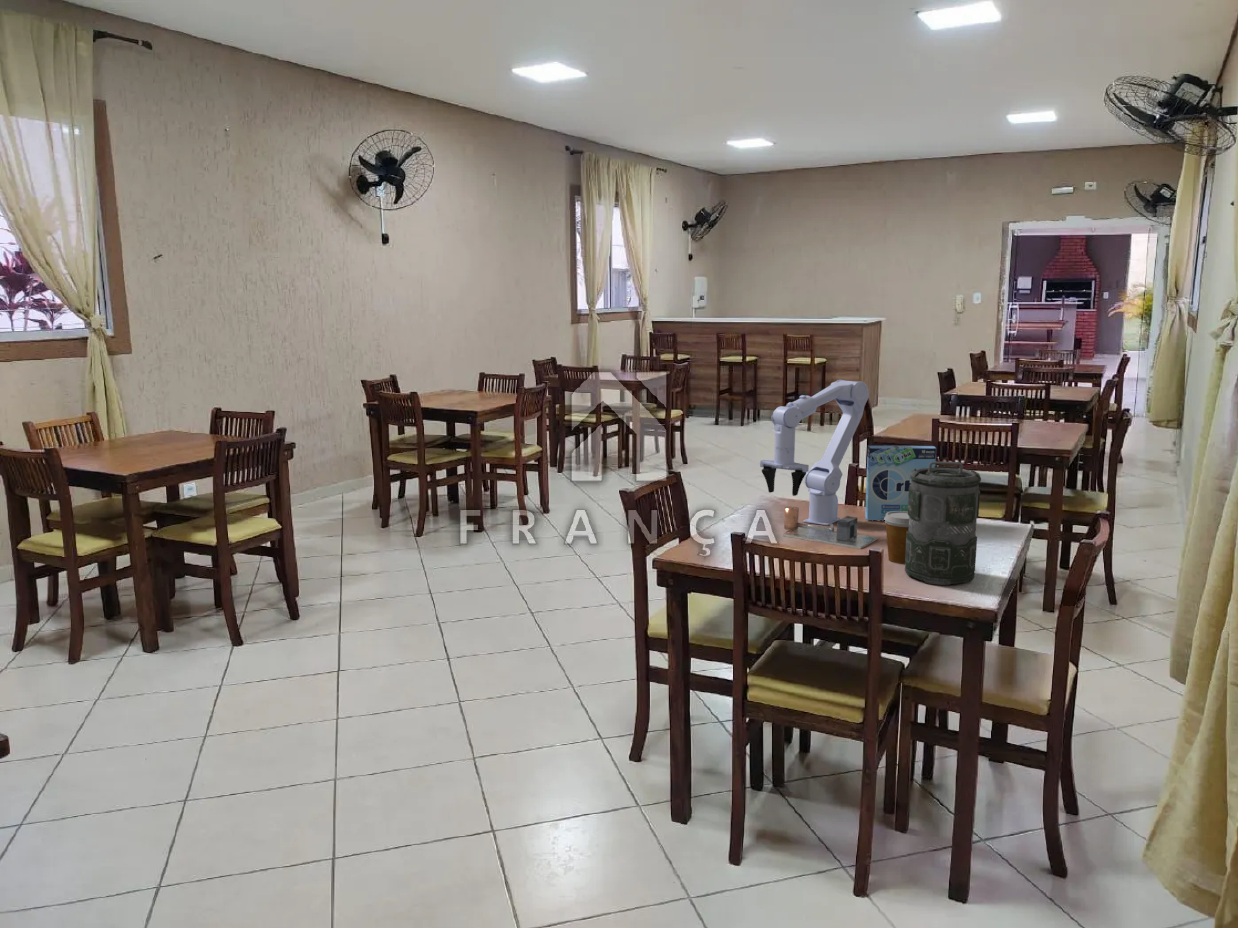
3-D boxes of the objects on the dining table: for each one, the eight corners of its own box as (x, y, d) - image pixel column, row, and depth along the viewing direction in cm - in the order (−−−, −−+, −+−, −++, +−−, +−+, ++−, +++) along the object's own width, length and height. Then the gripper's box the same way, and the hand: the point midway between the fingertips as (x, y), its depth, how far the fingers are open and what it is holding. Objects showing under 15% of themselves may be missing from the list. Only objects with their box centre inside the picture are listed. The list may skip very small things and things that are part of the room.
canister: (909, 584, 199) (915, 467, 194) (900, 565, 215) (905, 455, 210) (981, 588, 196) (989, 468, 192) (966, 568, 212) (973, 457, 207)
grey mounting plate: (801, 527, 253) (802, 507, 252) (877, 539, 239) (878, 518, 238) (783, 536, 244) (783, 515, 242) (860, 548, 230) (861, 526, 229)
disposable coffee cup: (920, 556, 222) (923, 511, 220) (920, 567, 213) (923, 520, 211) (882, 553, 225) (884, 509, 223) (881, 563, 216) (883, 517, 214)
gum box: (929, 519, 262) (933, 445, 258) (933, 523, 257) (937, 448, 253) (864, 517, 265) (867, 444, 261) (866, 521, 260) (869, 447, 256)
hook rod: (781, 528, 248) (782, 508, 247) (788, 526, 251) (788, 505, 250) (830, 536, 239) (831, 515, 238) (836, 533, 242) (836, 512, 241)
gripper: (755, 447, 250) (754, 492, 252) (802, 451, 241) (800, 498, 243) (766, 444, 255) (765, 488, 258) (812, 448, 247) (810, 494, 249)
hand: (783, 493), depth 251 cm, fingers open, 7 cm apart
